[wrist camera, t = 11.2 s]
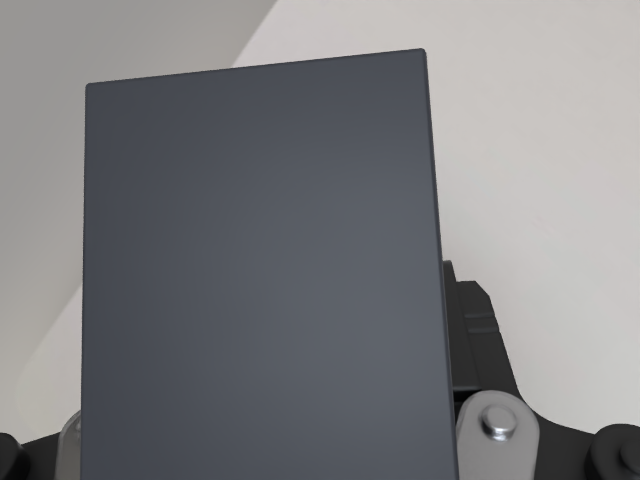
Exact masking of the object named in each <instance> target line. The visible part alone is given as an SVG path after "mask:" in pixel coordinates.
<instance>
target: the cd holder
mask: <svg viewBox="0 0 640 480" xmlns="http://www.w3.org/2000/svg"><path fill="white" fill-rule="evenodd" d="M85 96H86V97H85V161H84V162H85V163H84V230H83V232H84V233H83V299H82V368H81V438H80V480H460V477H459V464H458V452H457V439H456V426H455V413H454V401H453V388H452V375H451V362H450V349H449V337H448V324H447V311H446V298H445V286H444V273H443V260H442V247H441V235H440V222H439V209H438V196H437V184H436V171H435V158H434V145H433V133H432V120H431V107H430V94H429V81H428V69H427V56H426V52H425V50H424V49H422V48H419V49H409V50H400V51H390V52H381V53H371V54H362V55H352V56H343V57H333V58H324V59H314V60H305V61H295V62H286V63H276V64H267V65H257V66H248V67H238V68H229V69H219V70H210V71H201V72H192V73H182V74H173V75H163V76H153V77H144V78H134V79H125V80H115V81H106V82H97V83H88V84H87V85H86V90H85Z"/></svg>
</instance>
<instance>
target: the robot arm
mask: <svg viewBox="0 0 640 480" xmlns="http://www.w3.org/2000/svg"><path fill="white" fill-rule="evenodd" d="M443 273H444V286H445V298H446V311H447V324H448V337H449V349H450V362H451V375H452V388H453V401H454V413H455V426H456V439H457V452H458V464H459V477H460V480H640V427H638V426H635V425H629V424H612V425H609V426H605V427H604V428H602V429H600V430H599V431H598V432H597V433H596V434H591V433H587V432H584V431H580V430H576V429H572V428H569V427H565V426H562V425H559V424H556V423H553V422H551V421H549V420H547V419H545V418H543V417H542V416H540V415H539V414H537V413H536V412H535V411H533V410H532V409H531V408H530V407H529V406H528V405H527V403H526V402H525V401H524V400H523V398H522V396H521V395H520V393H519V390H518V388H517V385H516V381H515V378H514V375H513V372H512V368H511V365H510V362H509V359H508V355H507V352H506V349H505V346H504V343H503V339H502V336H501V333H500V332H499V326H498V323H497V320H496V318H495V313H494V310H493V307H492V304H491V300H490V297H489V295H488V294H487V293H486V292H485V291H484V290H483V289H482V288H481V287H480V286H479V284H478V283H477V282H476V281H461V282H456V278H455V274H454V270H453V266H452V262H451V261H450V260H447V261H443ZM80 438H81V410H79V411H78V412H77V413H76V414H74V415H73V416H72V417H71V418H70V419H69V421H68V422H67V423H66V424H65V426H64V427H63V429H62V431H61V432H58V433H56V434H53V435H49V436H46V437H43V438H40V439H37V440H34V441H31V442H28V443H25V444H22V445H20V444H19V443H18V442H17V441H16V439H14V437H12V436H11V435H9V434H7V433H0V480H80Z"/></svg>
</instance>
